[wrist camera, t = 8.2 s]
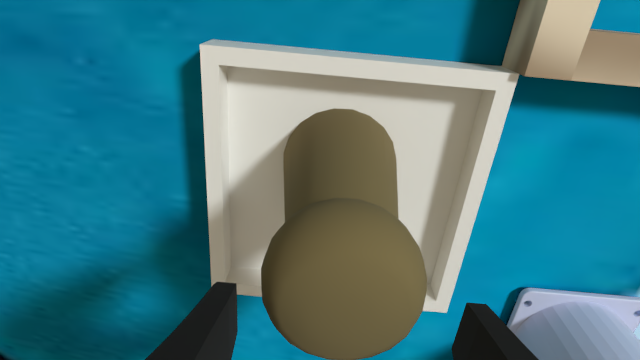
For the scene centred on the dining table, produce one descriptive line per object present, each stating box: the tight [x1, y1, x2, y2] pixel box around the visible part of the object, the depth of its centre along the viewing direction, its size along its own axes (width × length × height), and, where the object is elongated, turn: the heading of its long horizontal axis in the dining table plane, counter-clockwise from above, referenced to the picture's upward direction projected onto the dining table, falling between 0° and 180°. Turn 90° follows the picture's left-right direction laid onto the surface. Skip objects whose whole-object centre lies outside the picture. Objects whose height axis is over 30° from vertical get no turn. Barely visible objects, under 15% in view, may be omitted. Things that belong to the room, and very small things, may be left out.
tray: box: [200, 39, 519, 313], centre depth 21 cm, size 14×14×2 cm
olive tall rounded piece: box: [261, 108, 427, 360], centre depth 16 cm, size 6×6×11 cm
